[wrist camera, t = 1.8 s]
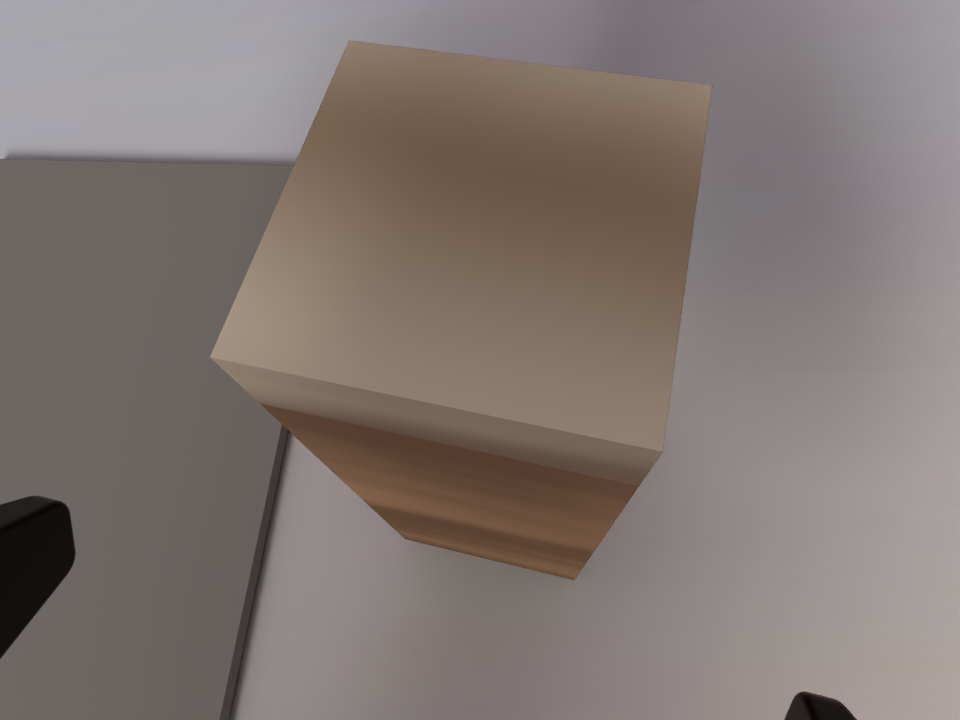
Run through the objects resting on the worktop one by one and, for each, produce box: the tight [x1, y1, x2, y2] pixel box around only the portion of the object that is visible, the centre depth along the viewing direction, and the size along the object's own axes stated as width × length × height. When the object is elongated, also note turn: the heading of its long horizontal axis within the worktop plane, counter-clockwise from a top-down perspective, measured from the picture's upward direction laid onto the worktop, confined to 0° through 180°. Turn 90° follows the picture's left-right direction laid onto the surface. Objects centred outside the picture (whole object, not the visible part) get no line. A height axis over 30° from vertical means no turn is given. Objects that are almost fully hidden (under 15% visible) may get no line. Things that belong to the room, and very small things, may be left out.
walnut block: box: [210, 40, 712, 580], centre depth 14 cm, size 5×5×13 cm
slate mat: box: [0, 159, 294, 720], centre depth 20 cm, size 24×14×1 cm, turn 175°
